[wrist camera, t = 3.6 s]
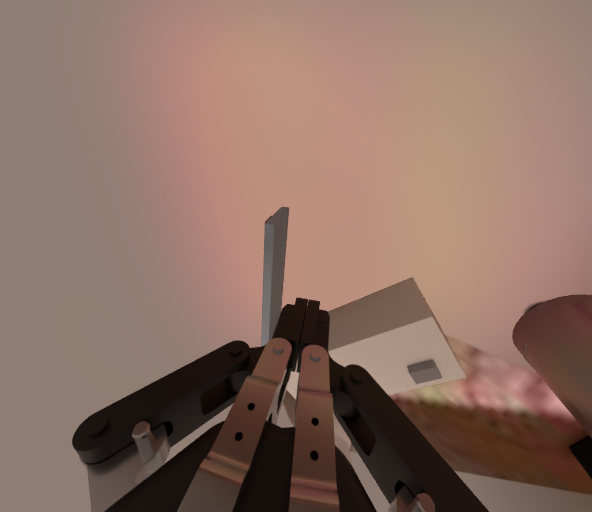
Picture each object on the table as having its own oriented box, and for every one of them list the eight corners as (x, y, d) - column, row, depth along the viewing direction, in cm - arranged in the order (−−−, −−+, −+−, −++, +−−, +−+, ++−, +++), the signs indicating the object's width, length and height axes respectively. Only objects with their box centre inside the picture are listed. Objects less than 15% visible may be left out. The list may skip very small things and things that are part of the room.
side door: (276, 205, 25) (257, 223, 19) (290, 207, 24) (274, 226, 19) (270, 330, 33) (255, 367, 27) (280, 332, 33) (267, 370, 27)
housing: (412, 277, 25) (435, 323, 19) (441, 328, 28) (471, 385, 21) (276, 332, 33) (259, 379, 26) (307, 370, 35) (298, 421, 29)
